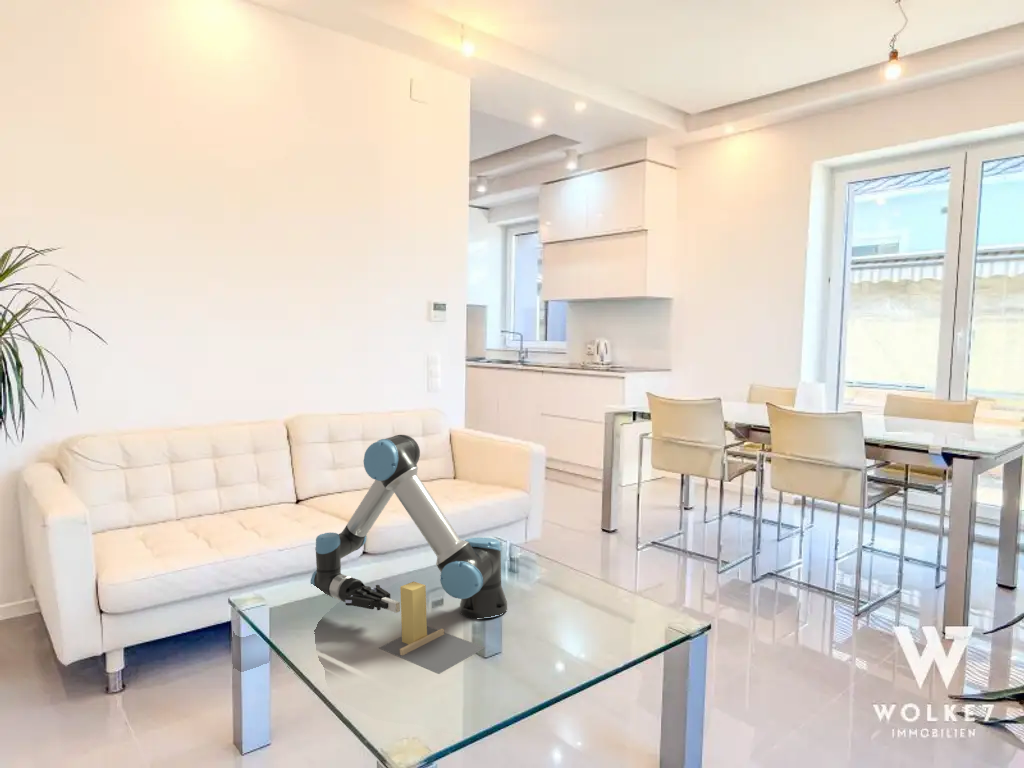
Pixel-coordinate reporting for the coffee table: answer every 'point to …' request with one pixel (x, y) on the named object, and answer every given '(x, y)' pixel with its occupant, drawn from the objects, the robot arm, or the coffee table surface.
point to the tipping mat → (434, 650)
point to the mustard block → (413, 612)
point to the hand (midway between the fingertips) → (397, 607)
